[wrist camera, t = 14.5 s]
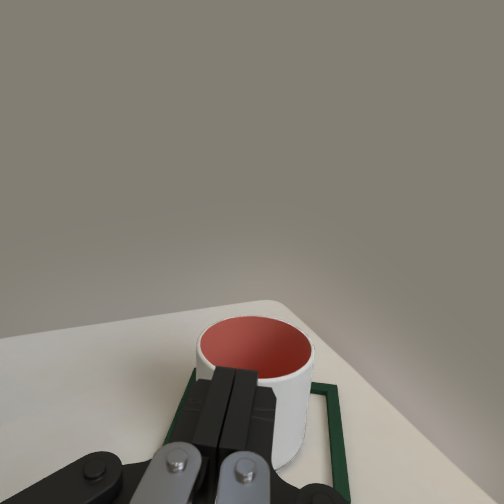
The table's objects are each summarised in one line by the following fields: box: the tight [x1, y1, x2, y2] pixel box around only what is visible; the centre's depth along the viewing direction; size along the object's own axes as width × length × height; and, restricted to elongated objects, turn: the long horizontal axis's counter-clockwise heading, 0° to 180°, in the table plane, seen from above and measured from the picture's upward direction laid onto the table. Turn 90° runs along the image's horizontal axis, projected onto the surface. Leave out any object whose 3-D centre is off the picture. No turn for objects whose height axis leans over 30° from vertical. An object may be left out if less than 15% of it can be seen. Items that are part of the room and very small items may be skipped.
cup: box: [196, 315, 315, 470], centre depth 37 cm, size 10×10×10 cm
